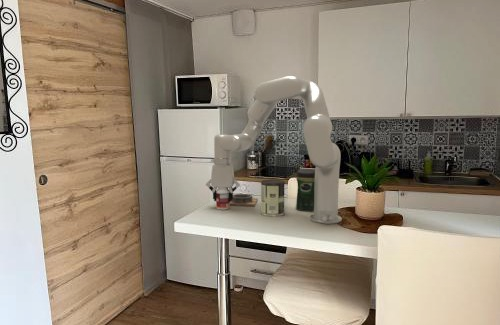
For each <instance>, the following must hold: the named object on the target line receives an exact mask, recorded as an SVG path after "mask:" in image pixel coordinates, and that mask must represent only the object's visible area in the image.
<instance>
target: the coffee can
mask: <svg viewBox="0 0 500 325" xmlns="http://www.w3.org/2000/svg"><path fill="white" fill-rule="evenodd" d="M285 184H286V181H284V180H280V179H263V180H260V188H261V189H260V190H261V191H260V193H261V194H260V195H261V196H260V199H261V200H260V206H261V207H260V209H261V210H260V214H261V215H263V216H268V217H280V216H283V215H285Z"/></svg>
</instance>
